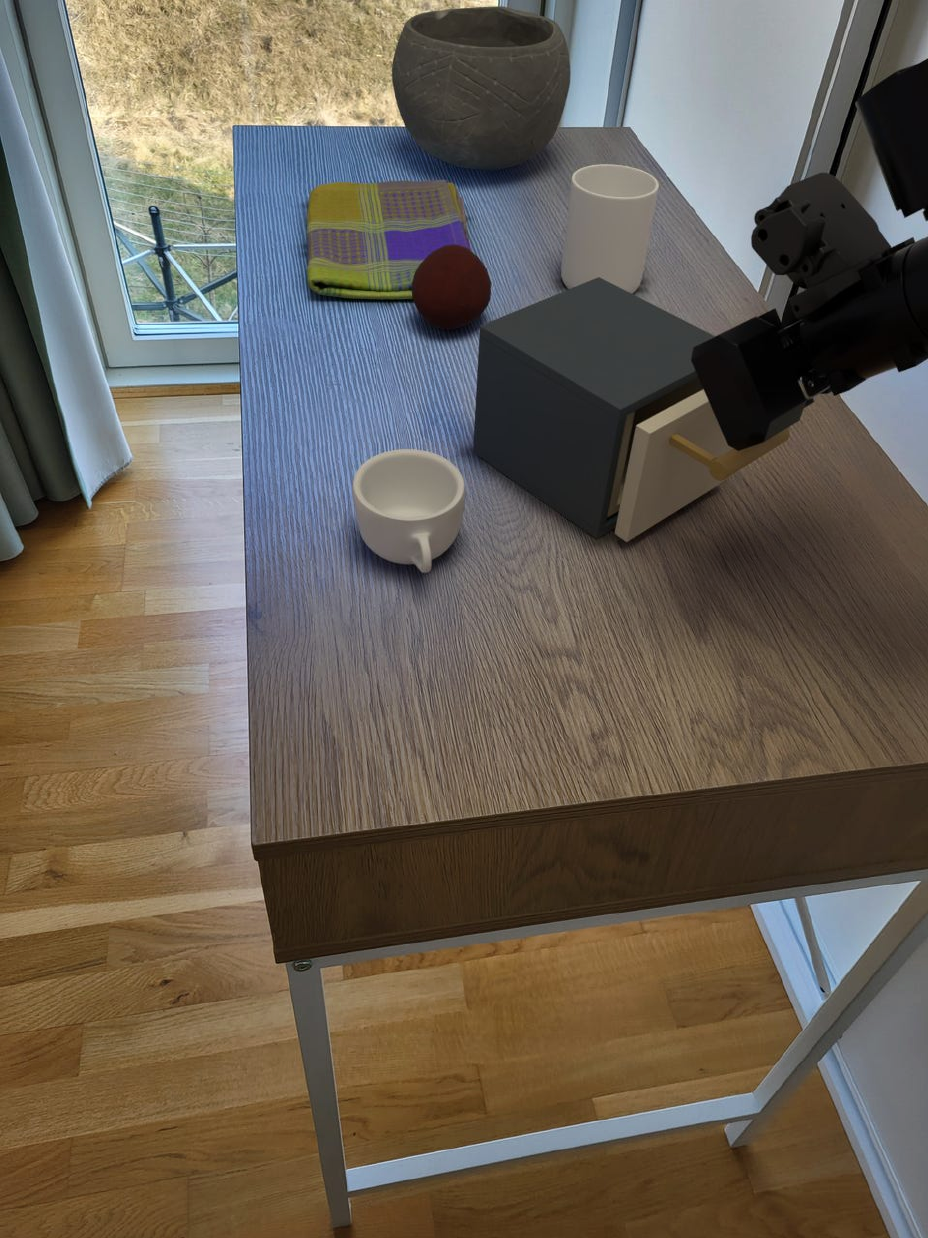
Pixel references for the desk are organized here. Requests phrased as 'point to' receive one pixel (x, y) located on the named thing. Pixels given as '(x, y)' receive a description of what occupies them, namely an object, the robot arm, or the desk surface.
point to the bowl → (481, 84)
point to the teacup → (409, 505)
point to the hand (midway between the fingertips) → (717, 387)
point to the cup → (608, 225)
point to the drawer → (673, 458)
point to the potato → (451, 287)
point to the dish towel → (378, 235)
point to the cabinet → (574, 391)
